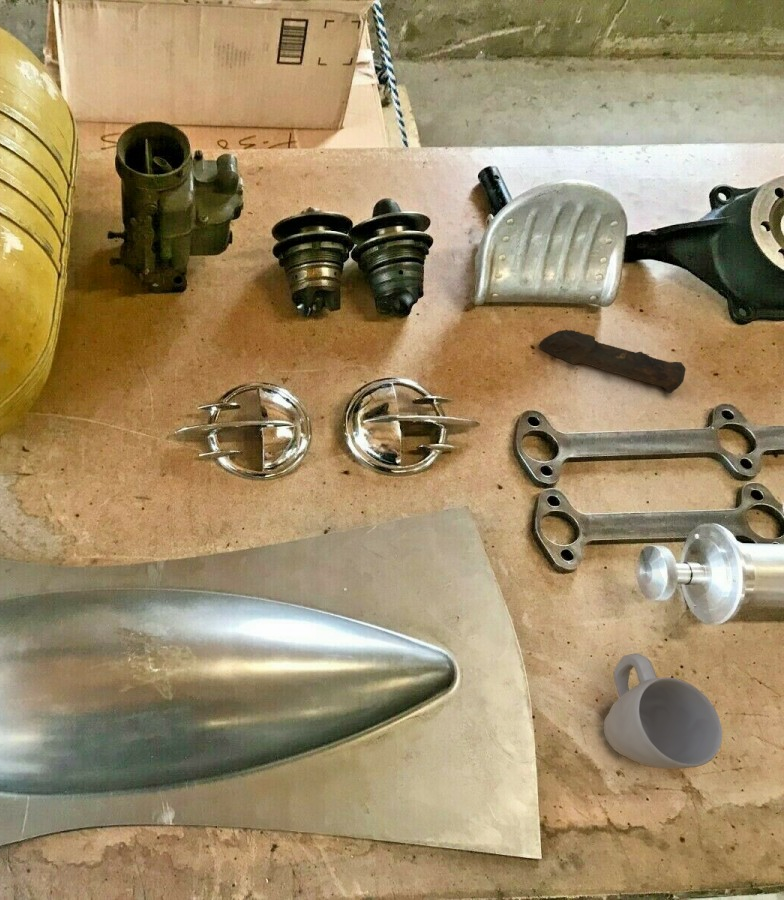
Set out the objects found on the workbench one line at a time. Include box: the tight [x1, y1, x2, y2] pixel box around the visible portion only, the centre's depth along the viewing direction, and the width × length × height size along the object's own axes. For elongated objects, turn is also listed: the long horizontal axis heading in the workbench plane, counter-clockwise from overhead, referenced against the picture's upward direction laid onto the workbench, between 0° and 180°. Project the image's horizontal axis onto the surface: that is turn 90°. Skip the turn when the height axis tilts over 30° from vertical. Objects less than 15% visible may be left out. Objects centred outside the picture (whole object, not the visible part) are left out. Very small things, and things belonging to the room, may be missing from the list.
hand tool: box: [538, 329, 687, 394], centre depth 110 cm, size 19×4×5 cm, turn 70°
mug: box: [603, 653, 723, 770], centre depth 85 cm, size 12×9×10 cm
